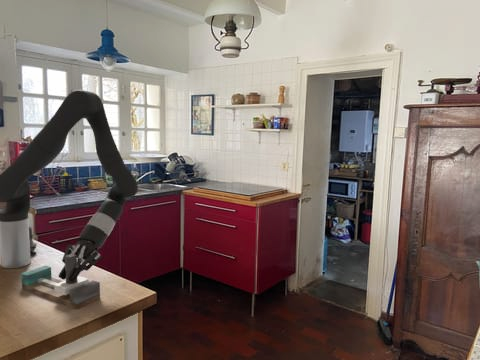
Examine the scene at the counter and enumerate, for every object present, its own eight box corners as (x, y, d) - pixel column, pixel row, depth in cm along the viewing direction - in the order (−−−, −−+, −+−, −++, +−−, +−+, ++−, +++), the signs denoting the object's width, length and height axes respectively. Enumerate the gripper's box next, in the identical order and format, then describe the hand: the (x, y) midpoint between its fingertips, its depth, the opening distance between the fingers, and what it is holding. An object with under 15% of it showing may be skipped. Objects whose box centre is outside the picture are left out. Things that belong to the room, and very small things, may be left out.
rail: (22, 288, 115) (21, 273, 114) (46, 279, 122) (45, 265, 121) (77, 309, 102) (76, 292, 102) (100, 298, 109) (99, 282, 109)
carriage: (54, 291, 107) (52, 258, 105) (77, 281, 114) (76, 250, 112) (65, 295, 104) (64, 261, 103) (88, 285, 111) (87, 253, 110)
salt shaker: (29, 257, 142) (27, 227, 141) (16, 255, 143) (14, 226, 142) (40, 252, 148) (39, 223, 146) (28, 250, 149) (26, 222, 147)
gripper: (75, 220, 116) (41, 269, 107) (106, 226, 110) (72, 279, 101) (90, 232, 122) (58, 280, 113) (120, 239, 115) (89, 290, 106)
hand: (65, 279), depth 107 cm, fingers closed on carriage, 3 cm apart
